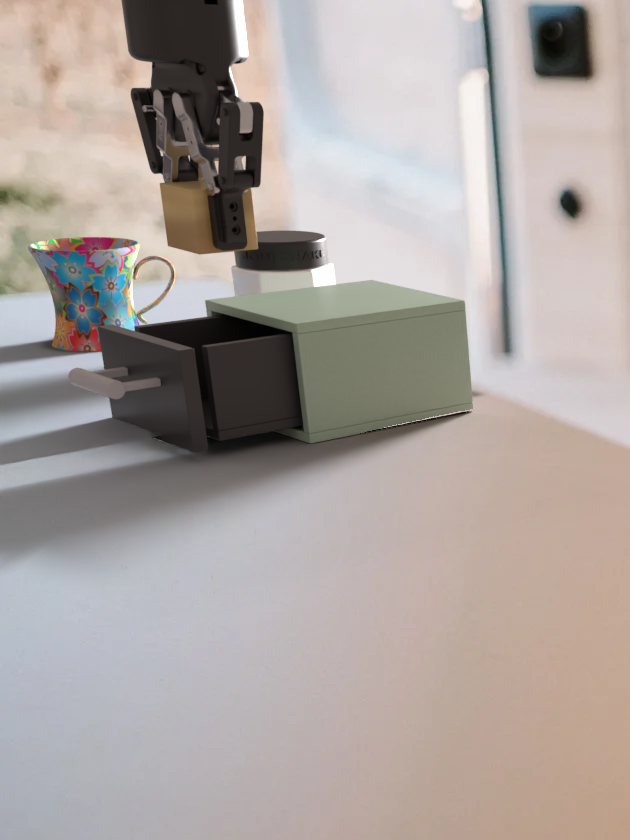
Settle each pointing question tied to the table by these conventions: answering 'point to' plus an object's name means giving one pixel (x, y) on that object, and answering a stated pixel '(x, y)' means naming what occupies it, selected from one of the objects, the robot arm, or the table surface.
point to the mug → (92, 286)
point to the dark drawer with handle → (198, 379)
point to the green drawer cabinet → (366, 353)
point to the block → (197, 217)
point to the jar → (283, 263)
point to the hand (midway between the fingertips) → (212, 243)
